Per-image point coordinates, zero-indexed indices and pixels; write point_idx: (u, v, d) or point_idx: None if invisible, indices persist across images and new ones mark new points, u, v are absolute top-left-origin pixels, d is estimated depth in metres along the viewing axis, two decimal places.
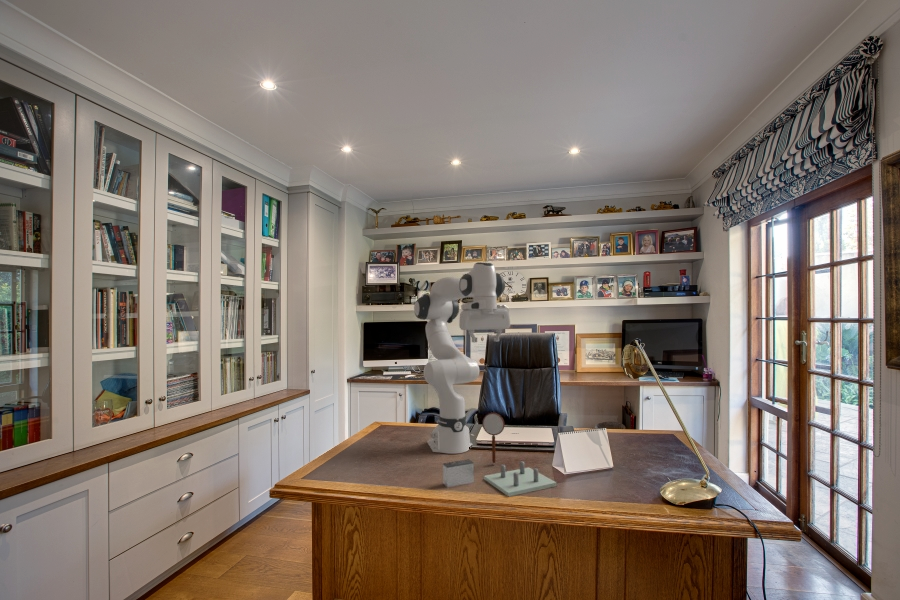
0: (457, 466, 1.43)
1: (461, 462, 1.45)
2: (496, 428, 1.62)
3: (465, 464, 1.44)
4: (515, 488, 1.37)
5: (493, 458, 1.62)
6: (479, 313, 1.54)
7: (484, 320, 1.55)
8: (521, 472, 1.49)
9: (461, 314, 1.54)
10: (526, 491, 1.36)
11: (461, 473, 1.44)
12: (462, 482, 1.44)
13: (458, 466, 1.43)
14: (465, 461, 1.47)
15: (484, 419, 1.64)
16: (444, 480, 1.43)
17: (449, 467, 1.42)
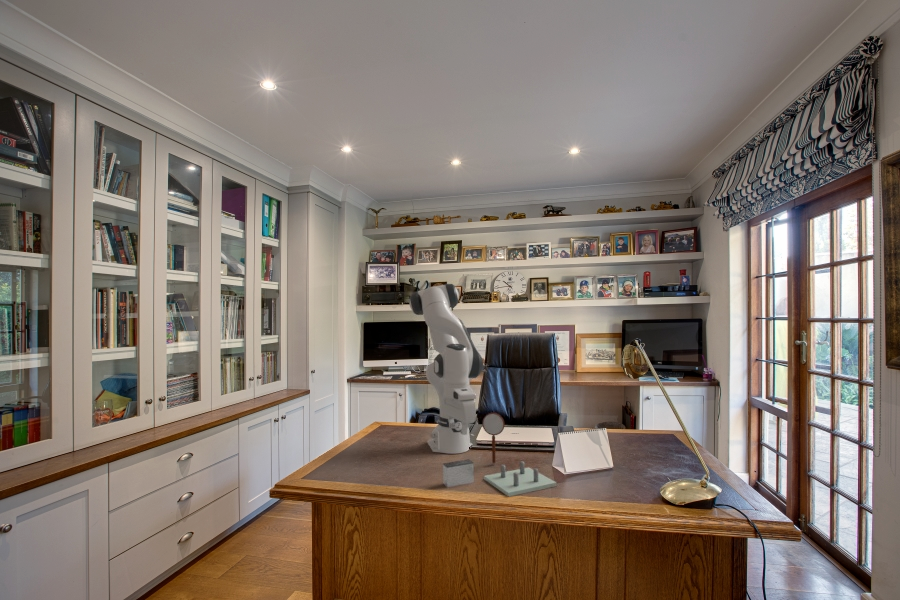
0: (457, 466, 1.43)
1: (461, 462, 1.45)
2: (496, 428, 1.62)
3: (465, 464, 1.44)
4: (515, 488, 1.37)
5: (493, 458, 1.62)
6: None
7: None
8: (521, 472, 1.49)
9: (467, 406, 1.37)
10: (526, 491, 1.36)
11: (461, 473, 1.44)
12: (462, 482, 1.44)
13: (458, 466, 1.43)
14: (465, 461, 1.47)
15: (484, 419, 1.64)
16: (444, 480, 1.43)
17: (449, 467, 1.42)
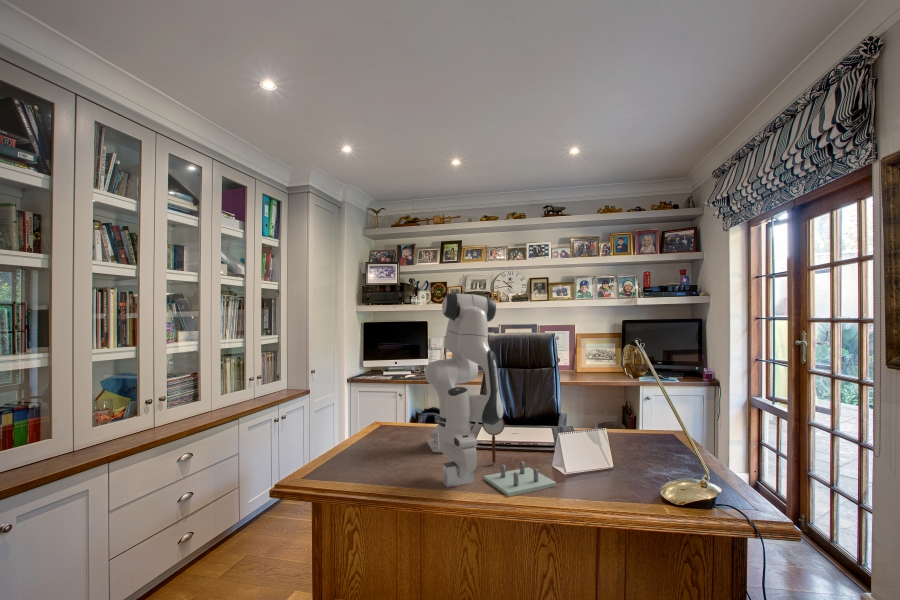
0: (457, 466, 1.43)
1: None
2: (496, 428, 1.62)
3: None
4: (515, 488, 1.37)
5: (493, 458, 1.62)
6: None
7: None
8: (521, 472, 1.49)
9: (468, 453, 1.36)
10: (526, 491, 1.36)
11: None
12: (462, 482, 1.44)
13: (458, 466, 1.43)
14: None
15: None
16: (444, 480, 1.43)
17: (449, 467, 1.42)
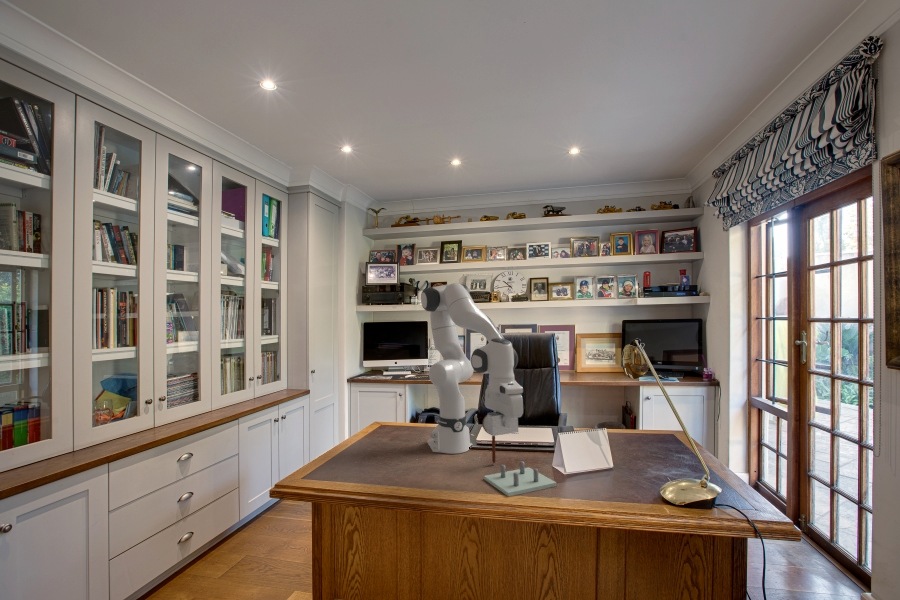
0: (502, 415, 1.43)
1: None
2: None
3: None
4: (515, 488, 1.37)
5: (493, 458, 1.62)
6: None
7: None
8: (521, 472, 1.49)
9: (514, 400, 1.37)
10: (526, 491, 1.36)
11: None
12: (507, 431, 1.44)
13: (503, 415, 1.43)
14: None
15: (484, 419, 1.64)
16: (489, 429, 1.44)
17: (494, 415, 1.42)
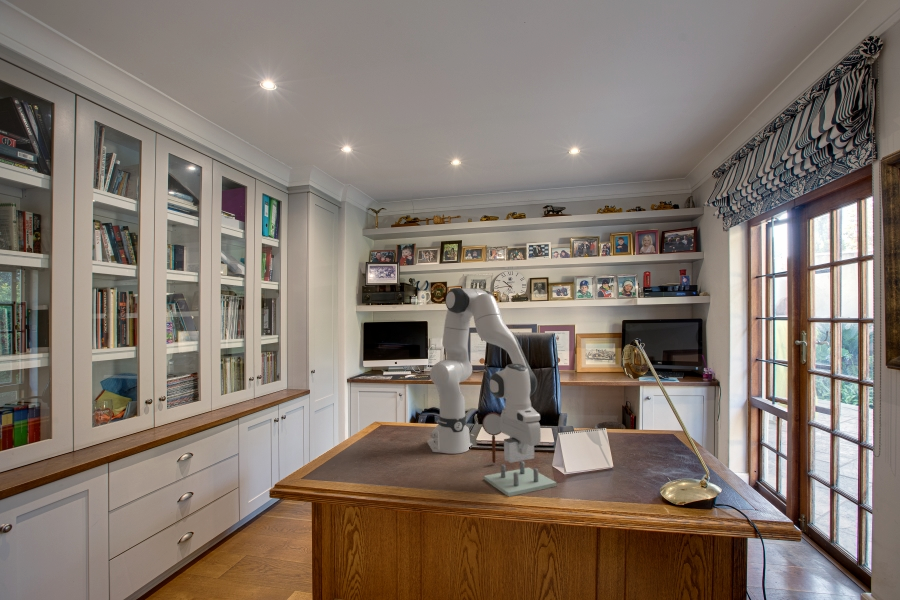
0: (519, 441, 1.43)
1: None
2: (496, 428, 1.62)
3: None
4: (515, 488, 1.37)
5: (493, 458, 1.62)
6: None
7: None
8: (521, 472, 1.49)
9: (532, 428, 1.36)
10: (526, 491, 1.36)
11: None
12: (523, 457, 1.44)
13: (519, 441, 1.43)
14: None
15: (484, 419, 1.64)
16: (505, 456, 1.44)
17: (511, 442, 1.42)
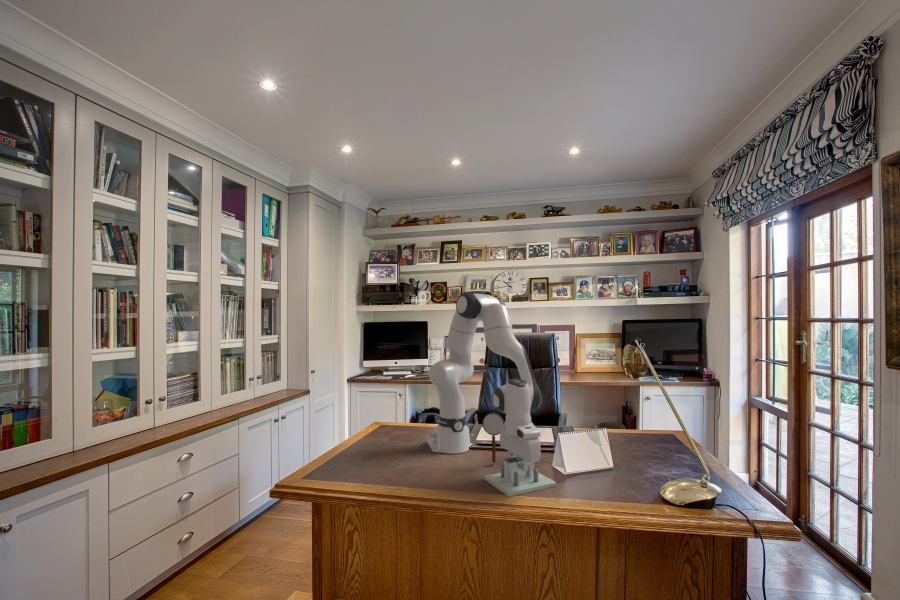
0: (519, 462, 1.43)
1: (522, 458, 1.45)
2: (496, 428, 1.62)
3: None
4: (515, 488, 1.37)
5: (493, 458, 1.62)
6: None
7: None
8: None
9: (532, 445, 1.36)
10: (526, 491, 1.36)
11: None
12: (523, 478, 1.43)
13: (520, 462, 1.43)
14: None
15: (484, 419, 1.64)
16: (505, 476, 1.43)
17: (511, 463, 1.42)
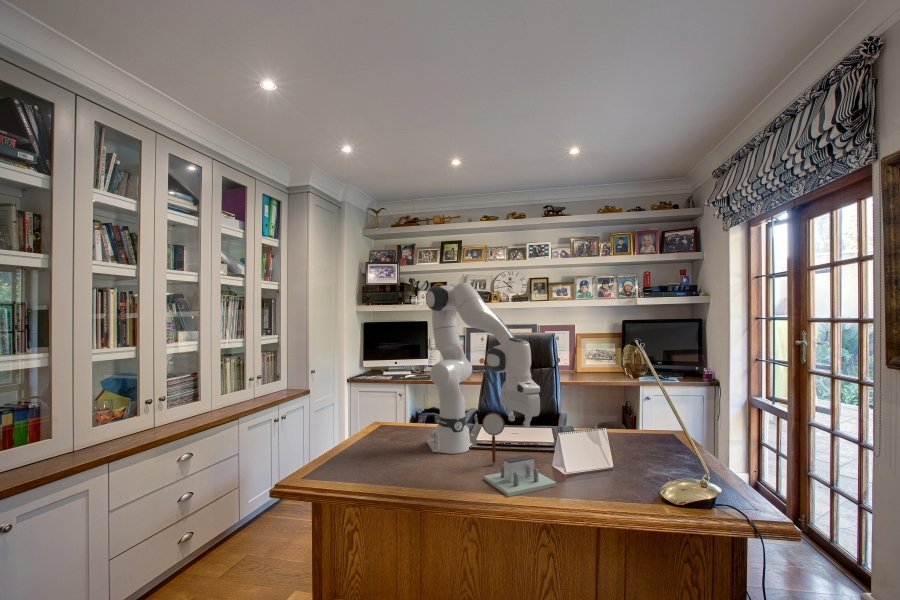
0: (519, 462, 1.43)
1: (522, 458, 1.45)
2: (496, 428, 1.62)
3: (526, 459, 1.44)
4: (515, 488, 1.37)
5: (493, 458, 1.62)
6: None
7: None
8: None
9: (532, 399, 1.39)
10: (526, 491, 1.36)
11: (523, 468, 1.43)
12: (523, 478, 1.43)
13: (520, 462, 1.43)
14: (526, 456, 1.46)
15: (484, 419, 1.64)
16: (505, 476, 1.43)
17: (511, 463, 1.42)
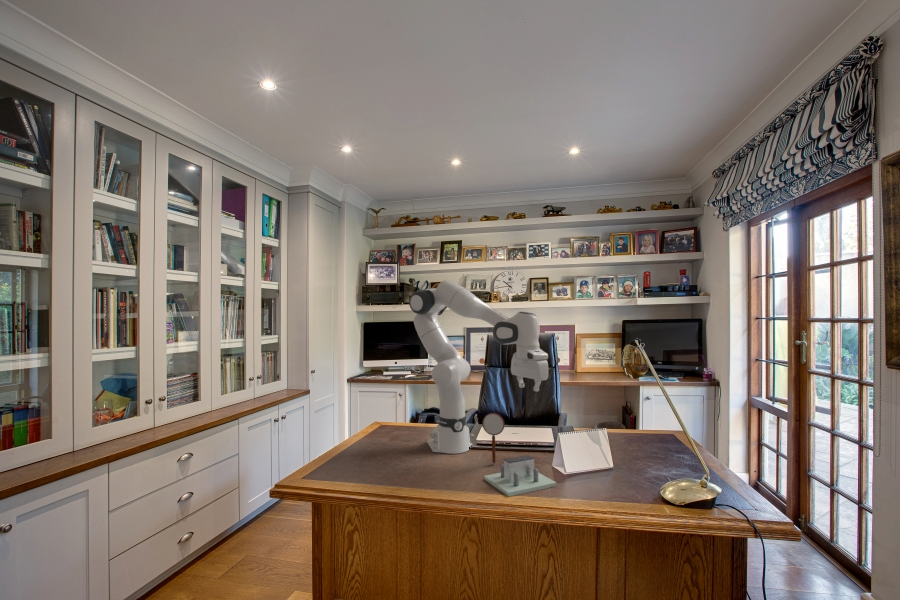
0: (519, 462, 1.43)
1: (522, 458, 1.45)
2: (496, 428, 1.62)
3: (526, 459, 1.44)
4: (515, 488, 1.37)
5: (493, 458, 1.62)
6: None
7: None
8: None
9: (541, 364, 1.53)
10: (526, 491, 1.36)
11: (523, 468, 1.43)
12: (523, 478, 1.43)
13: (520, 462, 1.43)
14: (526, 456, 1.46)
15: (484, 419, 1.64)
16: (505, 476, 1.43)
17: (511, 463, 1.42)
